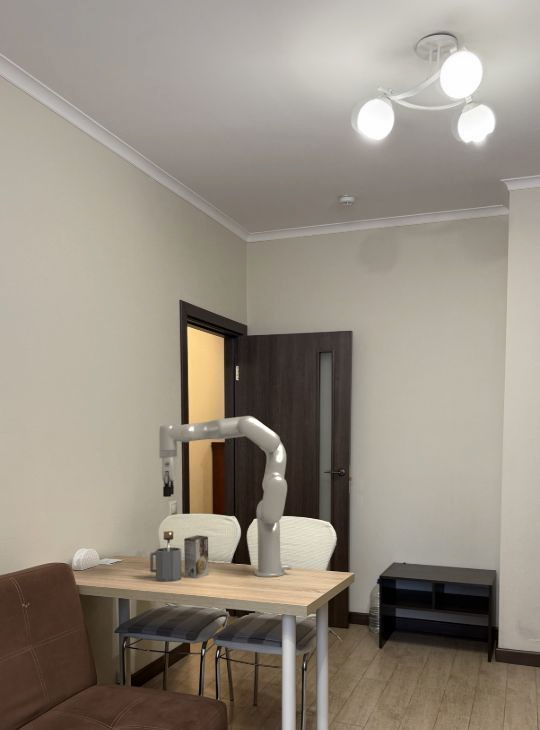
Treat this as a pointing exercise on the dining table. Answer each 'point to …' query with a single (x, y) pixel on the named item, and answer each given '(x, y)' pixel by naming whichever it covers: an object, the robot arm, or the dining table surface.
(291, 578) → the dining table surface
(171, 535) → the plunger
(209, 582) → the dining table surface
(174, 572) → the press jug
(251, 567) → the dining table surface
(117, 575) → the dining table surface
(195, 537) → the coffee box
